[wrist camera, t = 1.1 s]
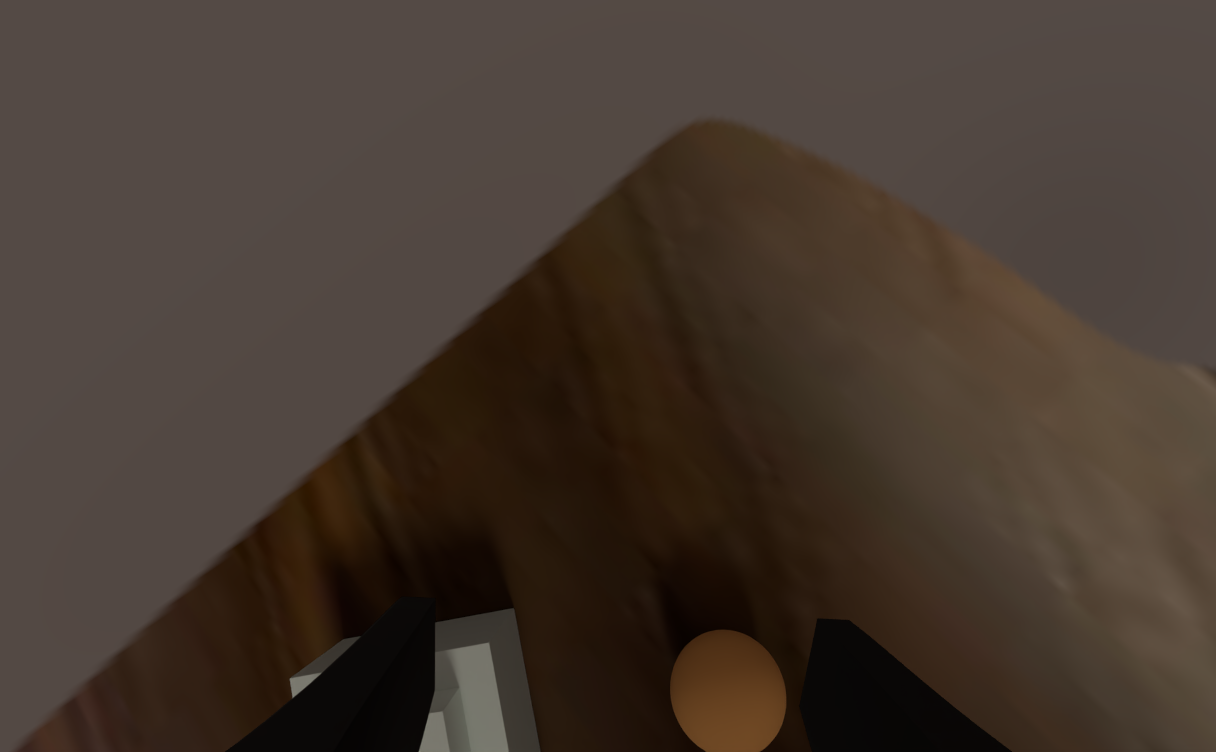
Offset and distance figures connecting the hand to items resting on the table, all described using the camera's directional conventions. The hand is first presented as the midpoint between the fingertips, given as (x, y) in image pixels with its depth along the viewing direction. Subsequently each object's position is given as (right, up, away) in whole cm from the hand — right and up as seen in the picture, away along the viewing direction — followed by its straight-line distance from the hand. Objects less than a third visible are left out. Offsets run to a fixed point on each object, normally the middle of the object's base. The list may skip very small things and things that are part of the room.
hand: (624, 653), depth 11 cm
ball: (+5, -9, +15) cm, 18 cm away
